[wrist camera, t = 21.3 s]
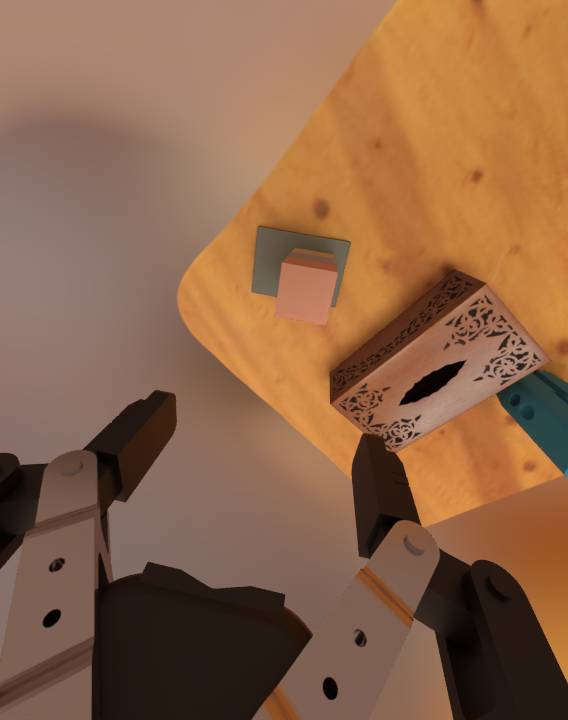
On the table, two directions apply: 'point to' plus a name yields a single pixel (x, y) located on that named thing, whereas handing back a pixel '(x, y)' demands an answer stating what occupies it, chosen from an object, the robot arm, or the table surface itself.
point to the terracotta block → (305, 290)
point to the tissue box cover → (434, 363)
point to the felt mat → (279, 245)
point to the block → (541, 413)
